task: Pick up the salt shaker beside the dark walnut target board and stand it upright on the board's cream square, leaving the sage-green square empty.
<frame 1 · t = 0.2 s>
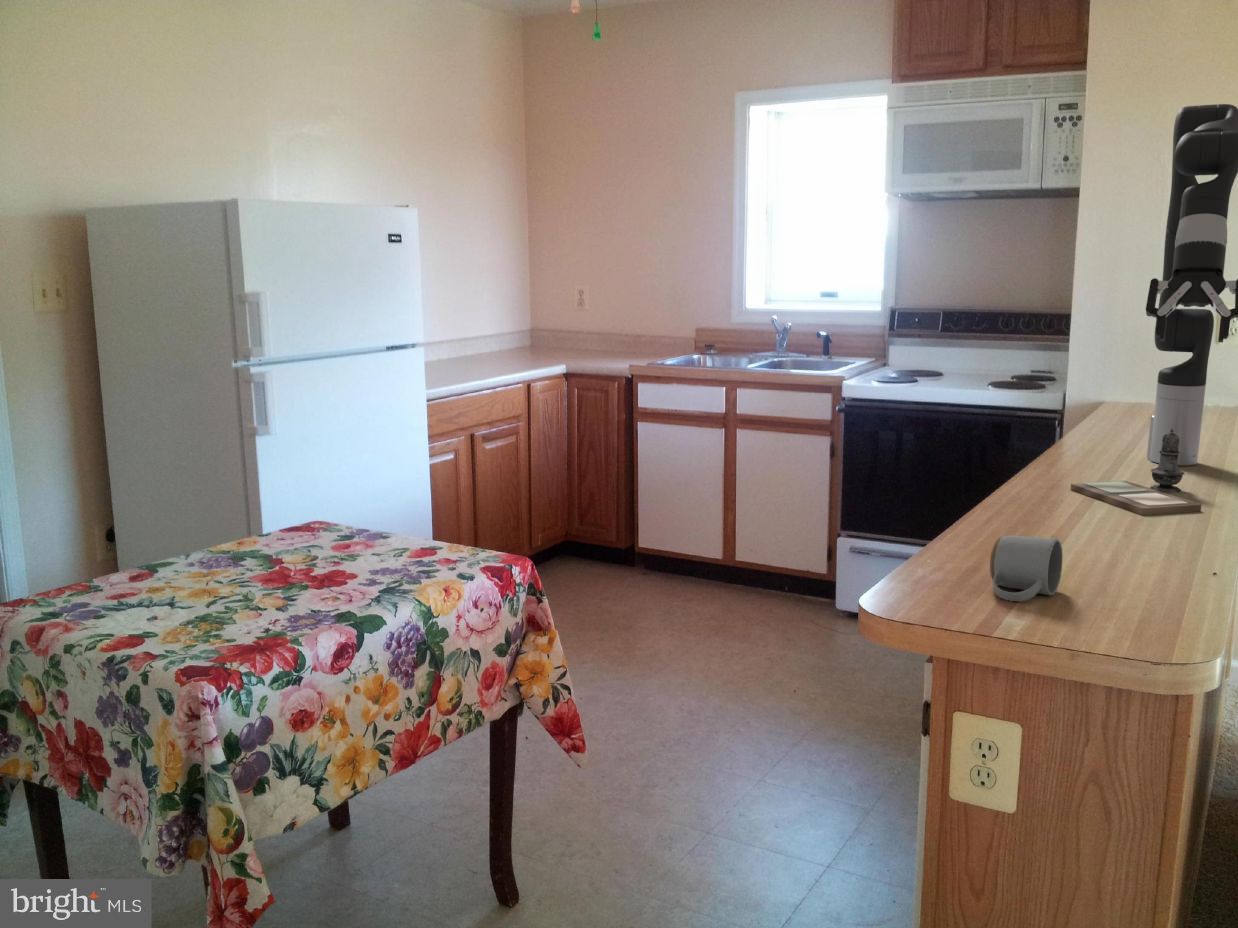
hand: (1190, 340, 170), 31 cm above the table, tool tilted 20°, fingers open, 8 cm apart
ceramic mug: (1023, 593, 141), on the table
target board: (1132, 499, 191), on the table
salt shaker: (1165, 490, 200), on the table
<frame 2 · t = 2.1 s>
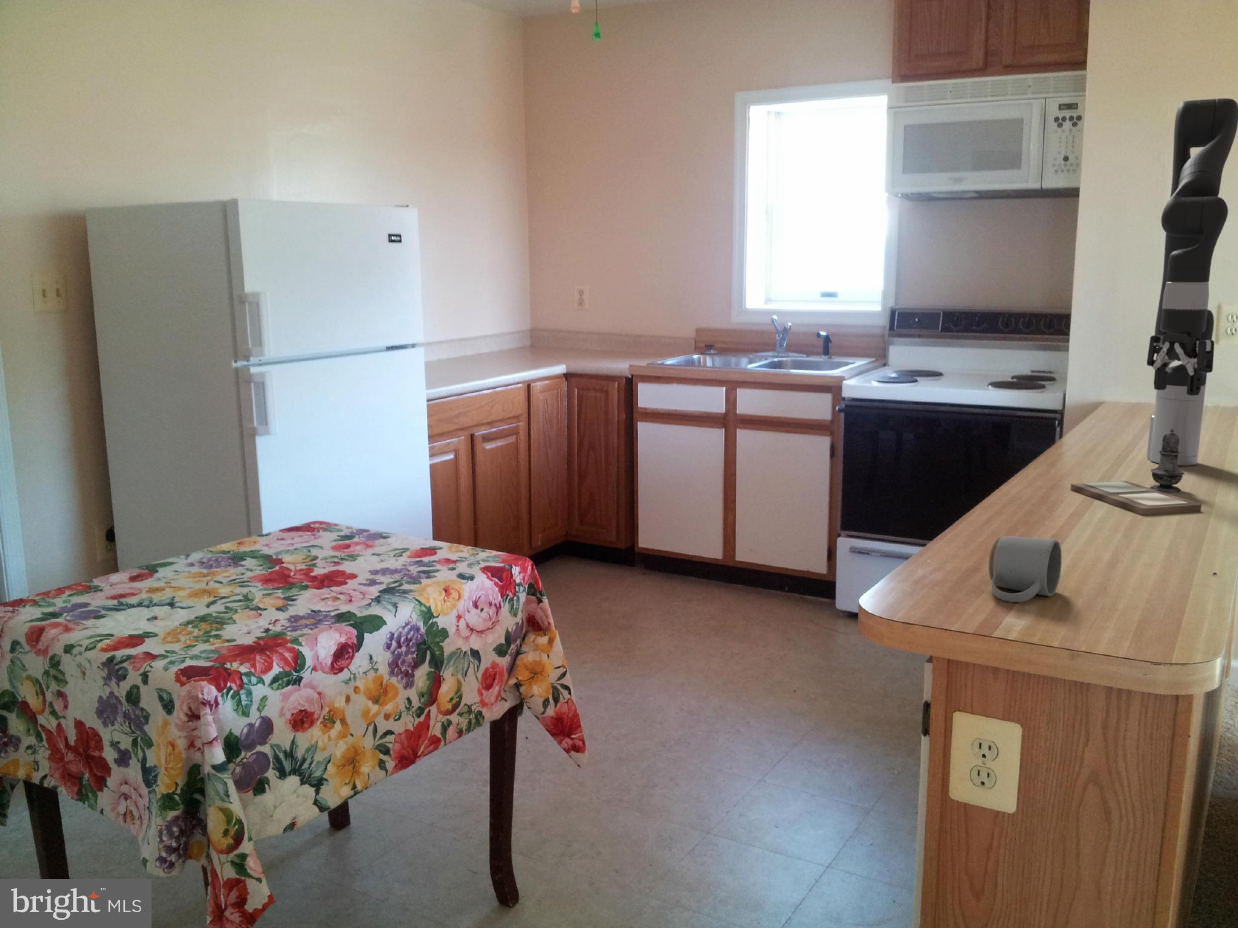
hand: (1175, 392, 196), 19 cm above the table, tool pointing down, fingers open, 8 cm apart
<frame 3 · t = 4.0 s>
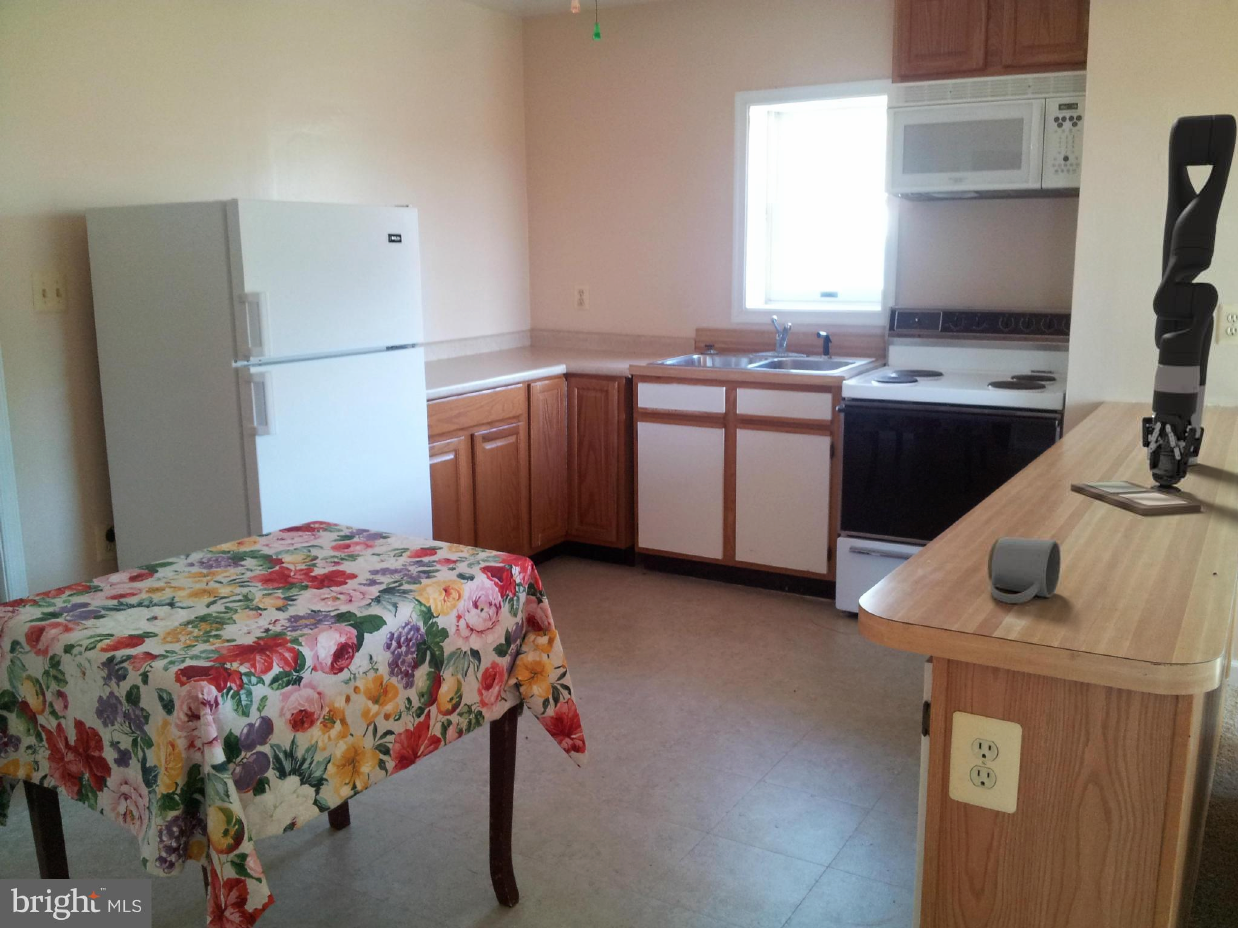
hand: (1167, 474, 199), 3 cm above the table, tool pointing down, fingers closed on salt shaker, 6 cm apart
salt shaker: (1165, 490, 200), on the table, touching gripper
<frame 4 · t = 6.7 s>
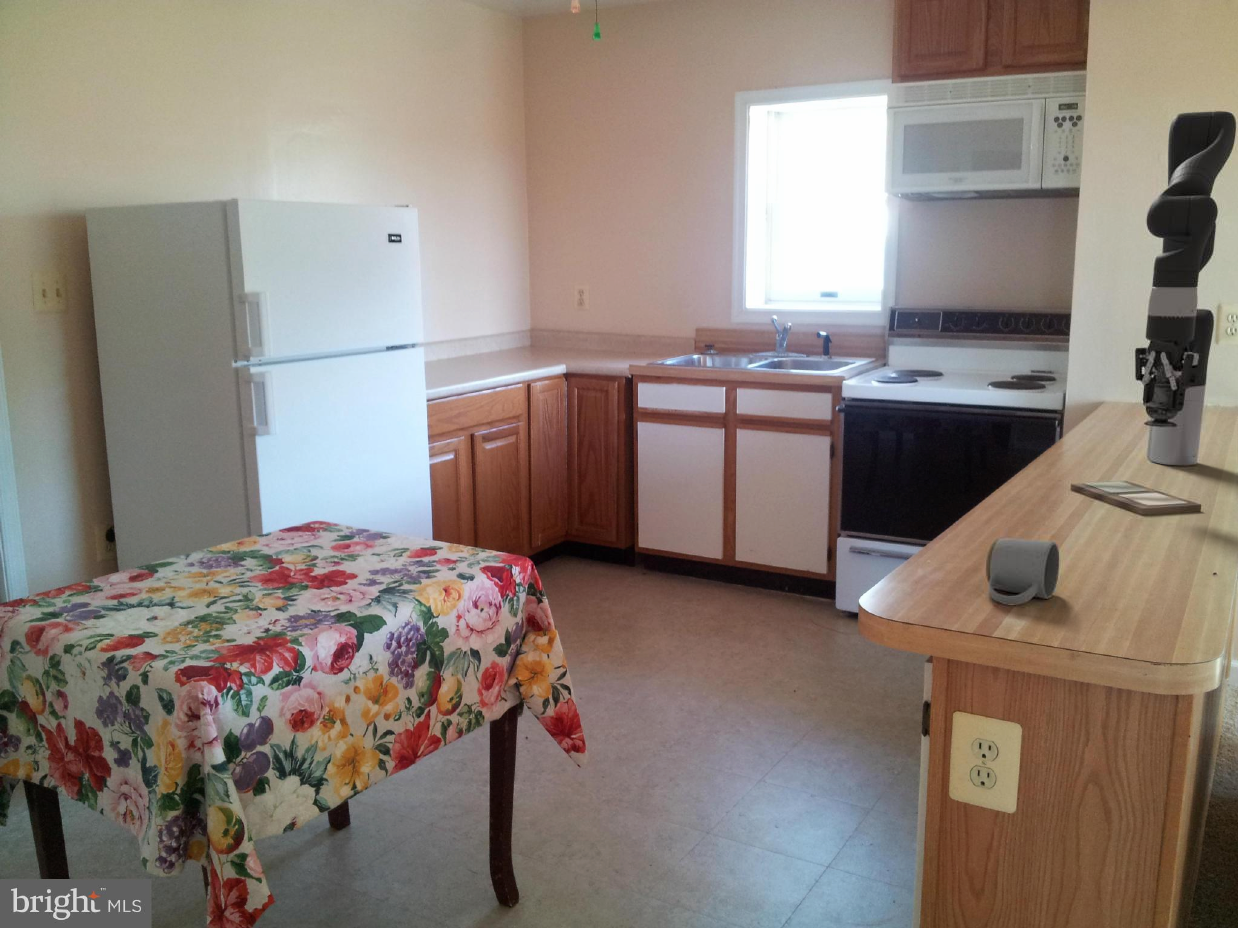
hand: (1162, 408, 183), 18 cm above the table, tool pointing down, fingers closed on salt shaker, 6 cm apart
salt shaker: (1160, 425, 184), point 15 cm above the table, touching gripper
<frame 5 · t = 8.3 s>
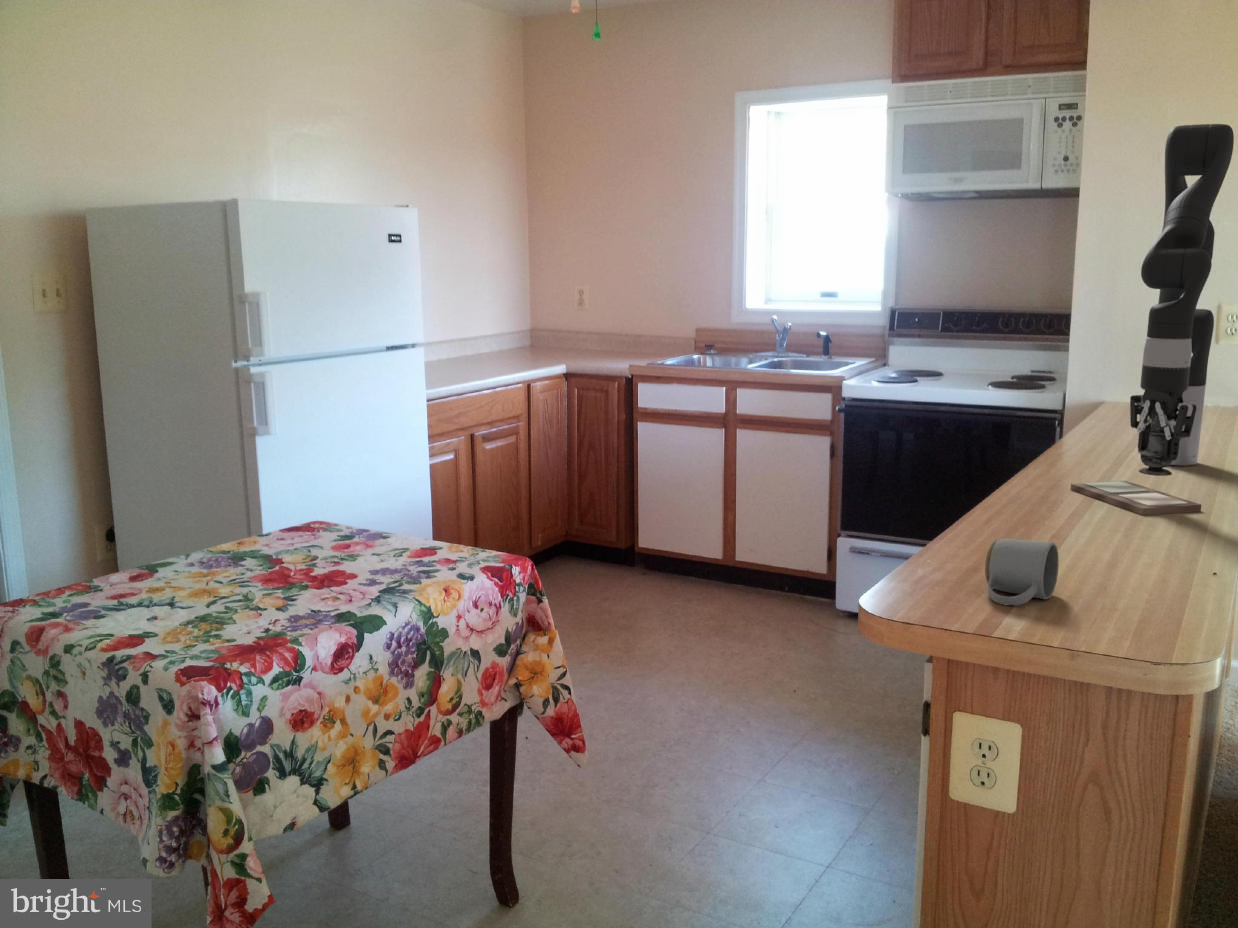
hand: (1156, 456, 185), 9 cm above the table, tool pointing down, fingers closed on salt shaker, 6 cm apart
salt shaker: (1155, 473, 185), point 6 cm above the table, touching gripper
when the fingers open (5 cm above the table, at t = 9.6 s): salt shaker stays where it is, resting on target board.
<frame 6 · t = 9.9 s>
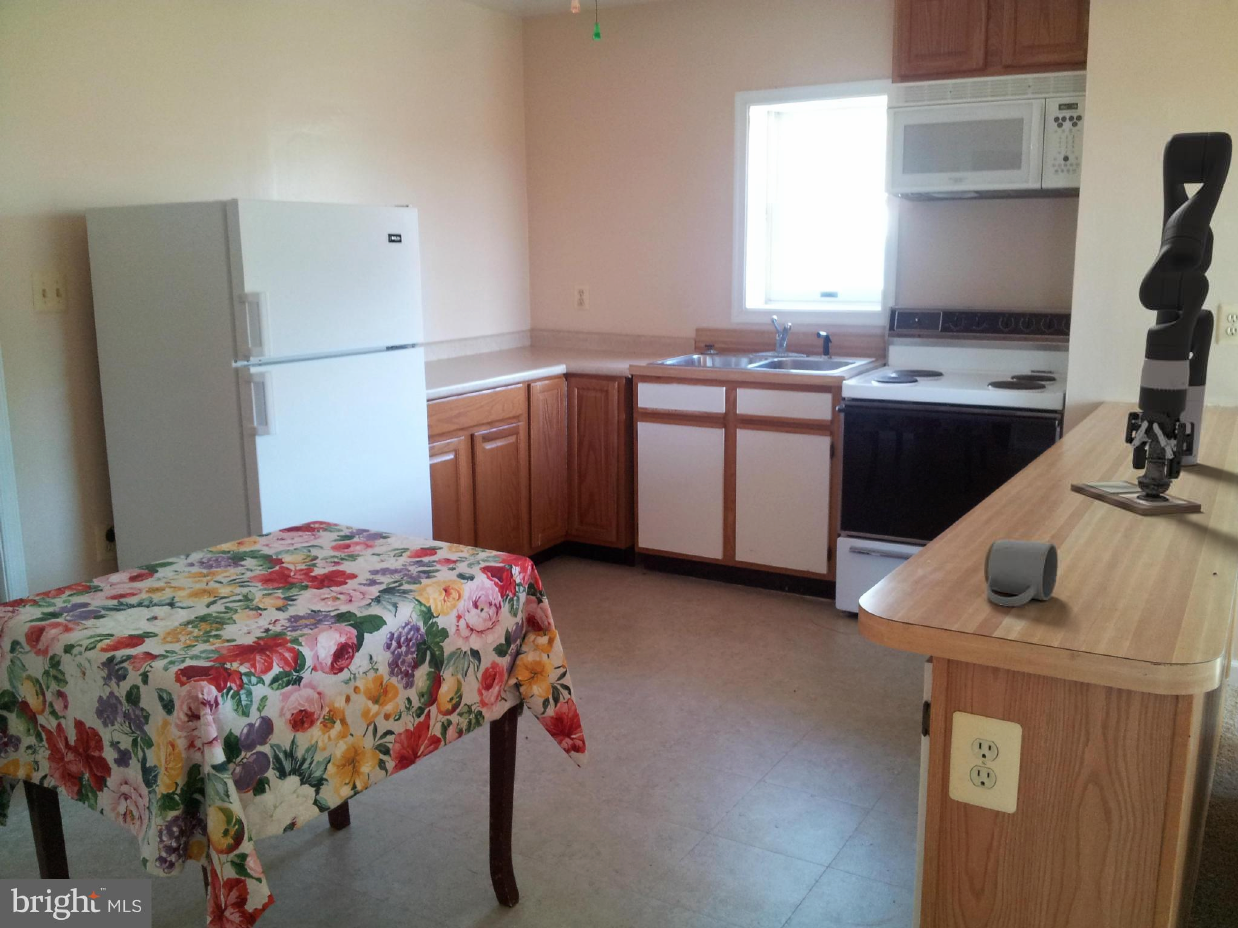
hand: (1154, 473, 185), 6 cm above the table, tool pointing down, fingers open, 8 cm apart
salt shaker: (1152, 499, 186), point 1 cm above the table, touching target board
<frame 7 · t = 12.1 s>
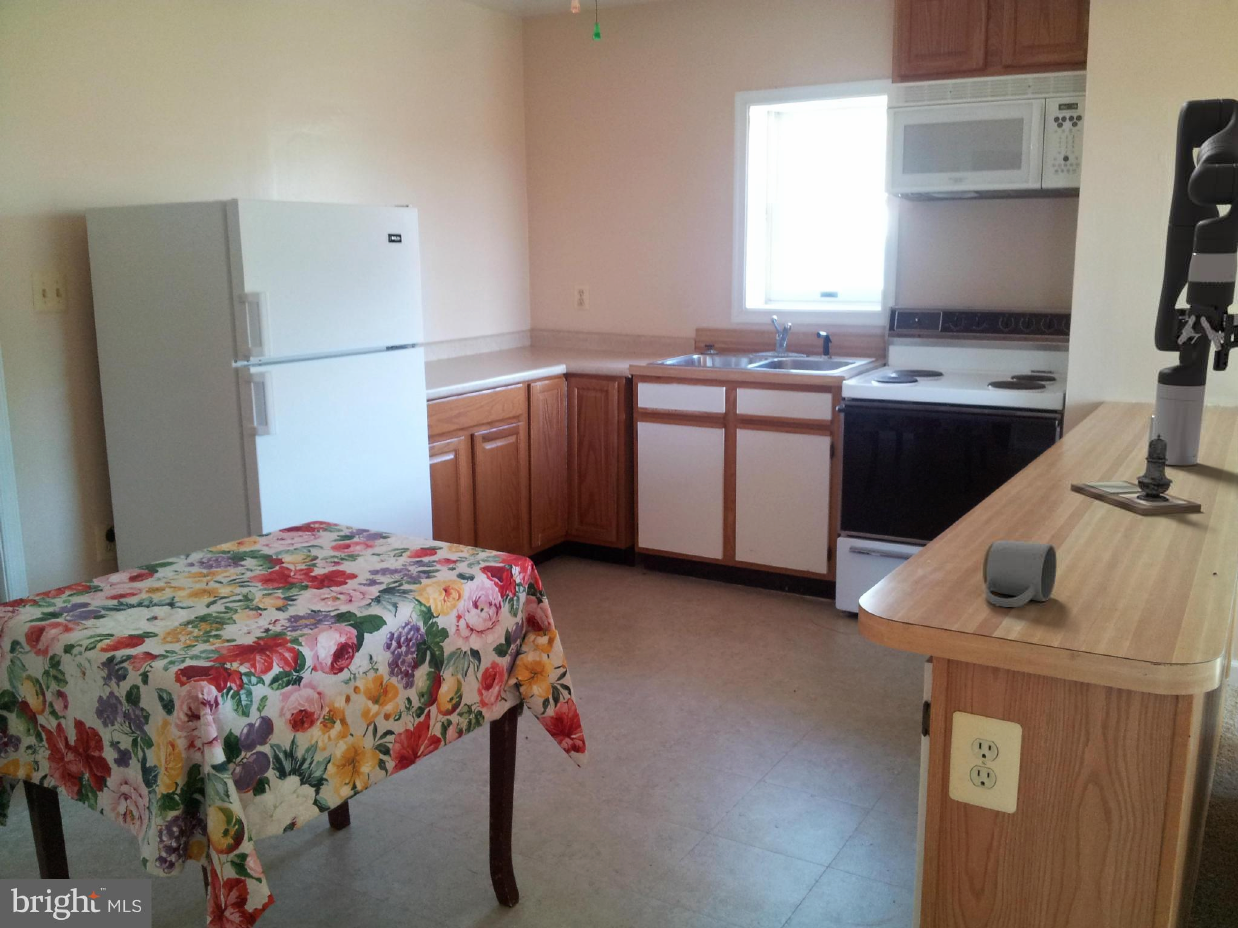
hand: (1201, 367, 189), 24 cm above the table, tool pointing down, fingers open, 8 cm apart
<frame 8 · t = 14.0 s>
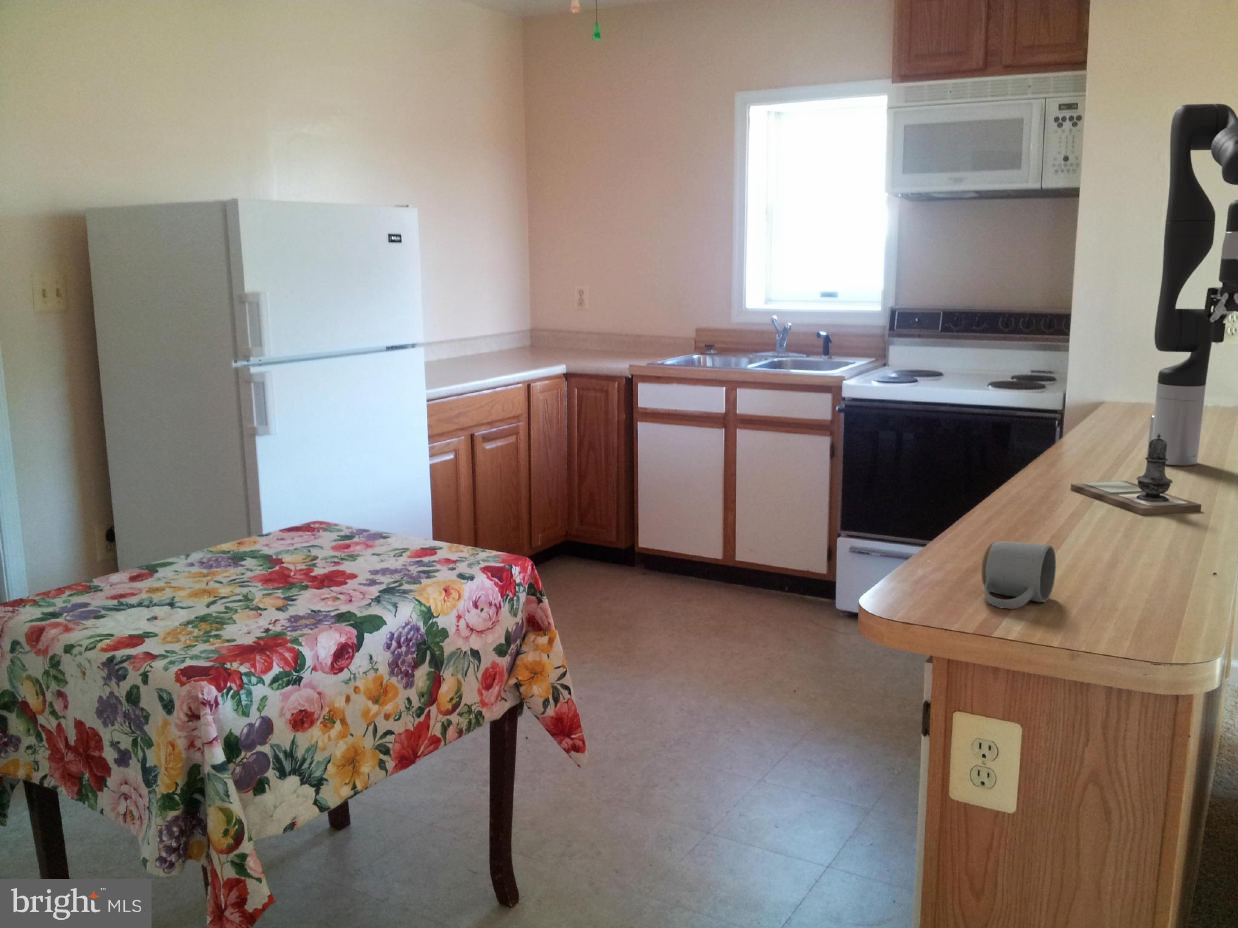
hand: (1234, 344, 194), 28 cm above the table, tool pointing down, fingers open, 8 cm apart
at the end: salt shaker 0.1 cm from the target spot on the target board, point 1.2 cm above the target board's base; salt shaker tilted 0°; the gripper is holding nothing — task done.
